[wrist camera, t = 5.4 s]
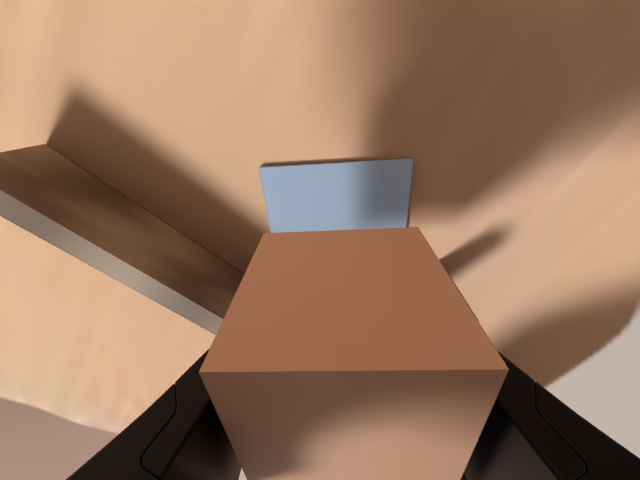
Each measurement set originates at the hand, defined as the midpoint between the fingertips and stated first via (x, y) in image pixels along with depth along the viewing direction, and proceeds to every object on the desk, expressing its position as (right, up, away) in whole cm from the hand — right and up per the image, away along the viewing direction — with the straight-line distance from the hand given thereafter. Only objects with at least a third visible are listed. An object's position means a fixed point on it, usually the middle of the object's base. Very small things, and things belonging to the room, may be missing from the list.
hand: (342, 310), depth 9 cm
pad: (0, +3, +5) cm, 6 cm away
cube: (0, +1, +1) cm, 1 cm away
